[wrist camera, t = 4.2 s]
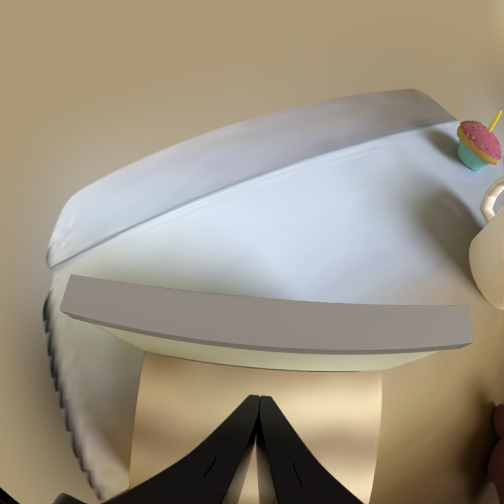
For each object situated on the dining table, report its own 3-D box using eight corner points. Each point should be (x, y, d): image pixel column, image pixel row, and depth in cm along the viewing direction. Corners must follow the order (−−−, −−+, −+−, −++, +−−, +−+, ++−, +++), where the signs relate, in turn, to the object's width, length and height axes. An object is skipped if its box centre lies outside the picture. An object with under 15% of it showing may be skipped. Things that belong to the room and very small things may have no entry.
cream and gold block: (347, 507, 14) (379, 540, 7) (148, 490, 15) (109, 516, 8) (362, 376, 19) (402, 364, 13) (163, 360, 20) (126, 342, 14)
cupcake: (462, 141, 35) (487, 90, 25) (494, 175, 31) (525, 125, 21) (439, 146, 34) (466, 86, 23) (474, 185, 30) (511, 127, 20)
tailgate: (385, 372, 16) (473, 342, 8) (141, 353, 17) (59, 310, 9) (385, 350, 17) (469, 305, 9) (145, 331, 18) (70, 274, 10)
